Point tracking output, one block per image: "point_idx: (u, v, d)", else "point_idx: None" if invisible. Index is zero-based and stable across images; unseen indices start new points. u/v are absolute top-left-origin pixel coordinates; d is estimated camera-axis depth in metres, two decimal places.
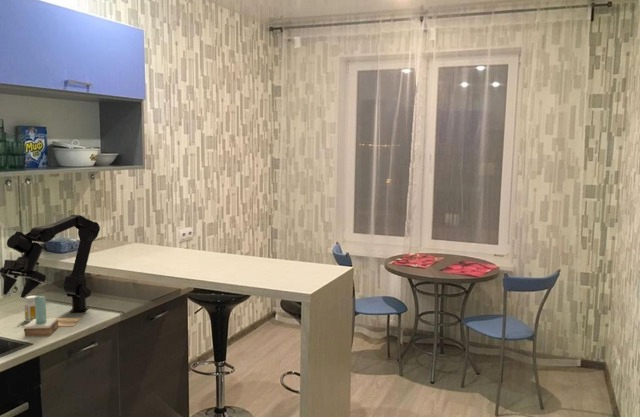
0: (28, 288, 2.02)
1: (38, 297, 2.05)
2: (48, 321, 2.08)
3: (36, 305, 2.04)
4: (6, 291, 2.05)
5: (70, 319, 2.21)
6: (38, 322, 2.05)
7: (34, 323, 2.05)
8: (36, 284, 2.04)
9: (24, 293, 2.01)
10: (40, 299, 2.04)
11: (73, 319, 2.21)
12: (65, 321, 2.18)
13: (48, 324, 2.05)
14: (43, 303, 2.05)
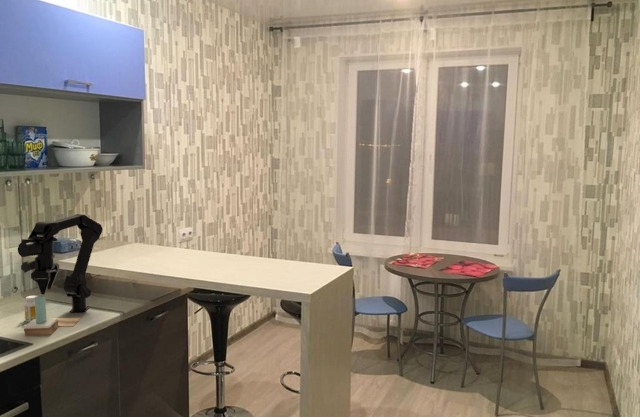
0: (42, 286, 2.10)
1: (38, 297, 2.05)
2: (48, 321, 2.08)
3: (36, 305, 2.04)
4: (49, 286, 2.20)
5: (70, 319, 2.21)
6: (38, 322, 2.05)
7: (34, 323, 2.05)
8: (46, 280, 2.10)
9: (41, 291, 2.11)
10: (40, 299, 2.04)
11: (73, 319, 2.21)
12: (65, 321, 2.18)
13: (48, 324, 2.05)
14: (43, 303, 2.05)
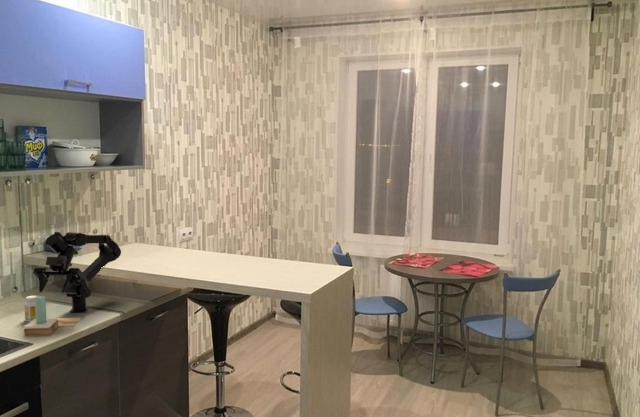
0: (68, 284, 2.16)
1: (38, 297, 2.05)
2: (48, 321, 2.08)
3: (36, 305, 2.04)
4: (42, 289, 2.15)
5: (70, 319, 2.21)
6: (38, 322, 2.05)
7: (34, 323, 2.05)
8: (74, 281, 2.18)
9: (65, 288, 2.14)
10: (40, 299, 2.04)
11: (73, 319, 2.21)
12: (65, 321, 2.18)
13: (48, 324, 2.05)
14: (43, 303, 2.05)
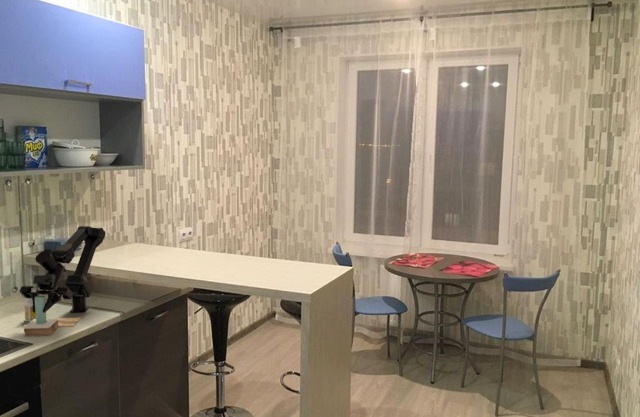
0: (50, 303, 2.07)
1: (38, 297, 2.05)
2: (48, 321, 2.08)
3: (36, 305, 2.04)
4: None
5: (70, 319, 2.21)
6: (38, 322, 2.05)
7: (34, 323, 2.05)
8: (56, 300, 2.10)
9: (46, 308, 2.05)
10: (40, 299, 2.04)
11: (73, 319, 2.21)
12: (65, 321, 2.18)
13: (48, 324, 2.05)
14: (43, 303, 2.05)
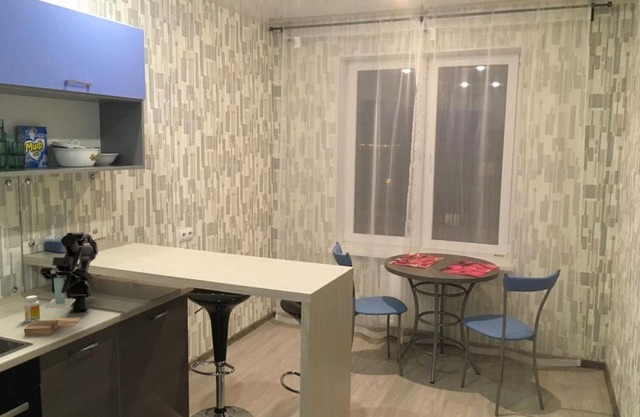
0: (68, 284, 2.16)
1: (57, 278, 2.14)
2: (66, 301, 2.17)
3: (55, 286, 2.13)
4: None
5: (70, 319, 2.21)
6: (57, 302, 2.14)
7: (53, 303, 2.14)
8: (74, 282, 2.19)
9: (65, 289, 2.14)
10: (59, 280, 2.13)
11: (73, 319, 2.21)
12: (65, 321, 2.18)
13: (66, 304, 2.13)
14: (62, 284, 2.14)
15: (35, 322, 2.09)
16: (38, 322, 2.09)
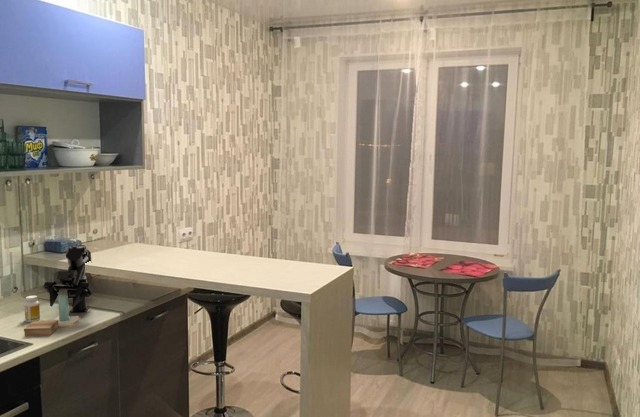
0: (78, 298, 2.17)
1: (61, 296, 2.16)
2: (71, 319, 2.19)
3: (60, 303, 2.15)
4: (52, 303, 2.16)
5: None
6: (61, 319, 2.16)
7: (58, 320, 2.16)
8: (84, 295, 2.20)
9: (75, 303, 2.16)
10: (63, 298, 2.15)
11: None
12: None
13: (71, 321, 2.15)
14: (66, 301, 2.16)
15: (35, 322, 2.09)
16: (38, 322, 2.09)
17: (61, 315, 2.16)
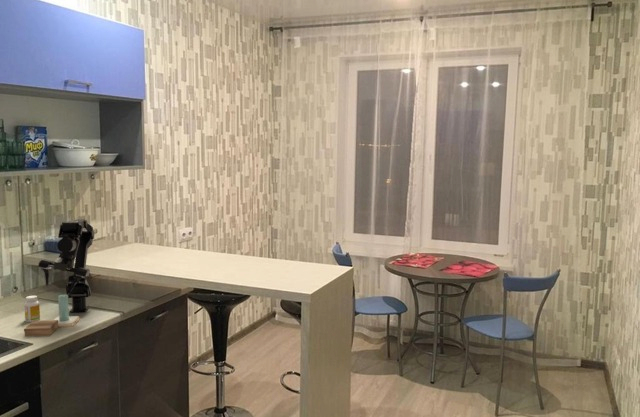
0: (75, 283, 2.20)
1: (61, 296, 2.16)
2: (71, 319, 2.19)
3: (60, 303, 2.15)
4: (48, 283, 2.19)
5: None
6: (61, 319, 2.16)
7: (58, 320, 2.16)
8: (80, 277, 2.22)
9: (72, 288, 2.20)
10: (63, 298, 2.15)
11: None
12: None
13: (71, 321, 2.15)
14: (66, 301, 2.16)
15: (35, 322, 2.09)
16: (38, 322, 2.09)
17: (61, 315, 2.16)
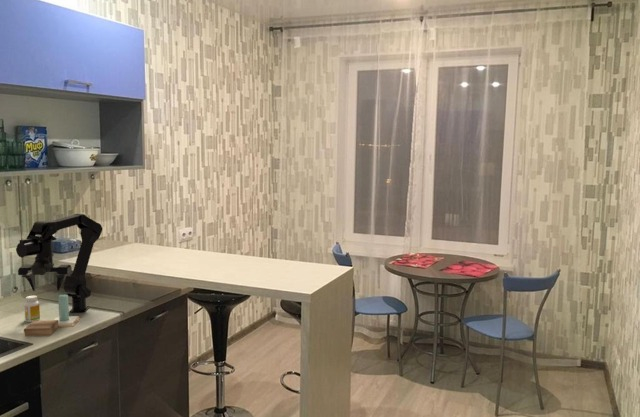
0: (60, 281, 2.17)
1: (61, 296, 2.16)
2: (71, 319, 2.19)
3: (60, 303, 2.15)
4: (34, 287, 2.17)
5: None
6: (61, 319, 2.16)
7: (58, 320, 2.16)
8: None
9: (59, 286, 2.17)
10: (63, 298, 2.15)
11: None
12: None
13: (71, 321, 2.15)
14: (66, 301, 2.16)
15: (35, 322, 2.09)
16: (38, 322, 2.09)
17: (61, 315, 2.16)
